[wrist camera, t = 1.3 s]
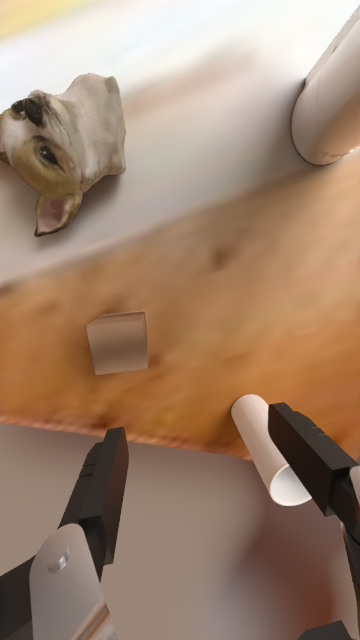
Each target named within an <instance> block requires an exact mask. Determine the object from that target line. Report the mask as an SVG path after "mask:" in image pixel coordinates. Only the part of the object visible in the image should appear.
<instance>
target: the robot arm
mask: <svg viewBox="0 0 360 640" xmlns="http://www.w3.org/2000/svg"><path fill="white" fill-rule="evenodd" d="M291 129H292V137H293V141H294V144H295V146H296V148H297V150H298V152H299V153H300V155H301V156H302V157H303V158H304V159H305V160H307V161H308V162H310V163H312V164H315V165H326V164H330V163H332V162H335V161H336V160H338V159H339V158H341V157H342V156H344V155H346V154H348V153H349V152H351V151H352V150H353V149H355V148H356V147H358V146H359V145H360V5H359V6H358V8H357V9H356V10H355V12H354V13H353V14H352V16H351V17H350V18H349V20H348V21H347V22H346V24H345V25H344V26H343V28H342V29H341V30H340V32H339V33H338V35H337V36H336V37H335V39H334V40H333V41H332V43H331V44H330V45H329V47H328V48H327V49H326V51H325V52H324V53H323V55H322V56H321V57H320V59H319V60H318V61H317V63H316V64H315V65H314V67H313V68H312V70H311V71H310V72H309V74H308V75H307V76H306V83H305V87H304V89H303V91H302V93H301V94H300V96H299V97H298V99H297V102H296V104H295V107H294V110H293V114H292V123H291ZM268 433H269V436H270V438H271V440H272V442H273V443H274V445H275V446H276V447H277V449H278V450H279V452H280V453H281V455H282V456H283V457H284V459H285V460H286V462H287V463H288V464H289V466H290V467H291V469H292V470H293V472H294V473H295V474H296V476H297V477H298V479H299V480H300V482H301V483H302V484H303V486H304V487H305V489H306V490H307V491H308V493H309V494H310V496H311V497H312V498H313V500H314V501H315V503H316V504H317V506H318V507H319V508H320V510H321V511H322V512H323V514H324V516H325V517H327V516H331V515H337V516H338V518H339V519H340V520H341V522H342V523H341V530H342V534H343V539H344V543H345V549H346V553H347V558H348V563H349V567H350V572H351V577H352V582H353V586H354V590H355V596H356V603H357V620H358V631H359V638H360V465H359V464H358V463H357V462H355V461H354V460H353V459H352V458H351V457H350V456H349V455H348V454H347V453H346V452H345V451H344V450H343V449H341V448H340V447H339V446H338V445H337V444H336V443H335V442H334V441H333V440H332V439H331V438H330V437H328V436H327V435H325V433H324V432H323V431H322V430H321V429H320V428H318V427H317V425H316V424H314V423H313V422H312V421H311V420H310V419H309V418H308V417H306V416H304V415H303V414H301V413H299V412H297V411H293V410H292V409H291V408H290V407H289V406H288V405H287V404H286V403H284V402H282V403H276V404H270V405H269V407H268ZM128 461H129V453H128V446H127V441H126V435H125V429H124V427H118V428H112V429H108V430H107V432H106V435H105V438H104V441H103V442H100V443H96V444H95V445H94V446H93V448H92V449H91V450H90V452H89V453H88V454H87V457H86V460H85V462H84V465H83V468H82V469H81V472H80V474H79V479H78V480H77V482H76V485H75V487H74V490H73V492H72V495H71V497H70V500H69V502H68V505H67V507H66V510H65V512H64V515H63V517H62V520H61V522H60V525H59V527H58V529H57V530H56V531H55V532H54V533H53V534H52V535H50V536H49V537H48V539H47V540H46V541H45V542H44V543H43V545H42V546H41V548H40V549H39V550H38V552H37V554H36V555H35V556H33V557H32V558H31V559H29V560H27V561H26V562H24V563H23V564H21V565H19V566H17V567H16V568H14V569H12V570H10V571H9V572H7V573H5V574H4V575H2V576H0V640H118V639H117V636H116V633H115V630H114V626H113V623H112V620H111V617H110V613H109V611H108V608H107V605H106V602H105V599H104V596H103V593H102V589H101V586H100V582H101V576H102V571H103V566H104V565H108V564H112V563H113V559H114V553H115V546H116V540H117V534H118V527H119V521H120V515H121V508H122V502H123V496H124V489H125V483H126V476H127V470H128ZM297 640H355V639H352V638H351V637H350V635H349V633H348V632H347V630H346V628H345V626H344V624H343V622H342V621H341V620H340V621H336V622H333V623H330V624H326V625H323V626H319V627H316V628H312V629H309V630H306V631H305V632H304V633H303V634H302V635H301V636H300V637H299V638H298V639H297Z"/></svg>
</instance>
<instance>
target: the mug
mask: <svg viewBox="0 0 360 640" xmlns="http://www.w3.org/2000/svg"><path fill="white" fill-rule="evenodd" d="M268 407H269V406H268V405H267V404H266V402H265V401H264V400H263V399H262V398H261V397H259V396H257V395H254V394H248V395H244V396H242V397H240V398H239V399H238V400H236V402H235V403H234V404H233V406H232V410H231V415H232V418H233V420H234V422H235V424H236V426H237V429H238V431H239V433H240V435H241V437H242V439H243V441H244V443H245V445H246V447H247V449H248V451H249V453H250V455H251V457H252V459H253V461H254V463H255V465H256V467H257V469H258V471H259V473H260V475H261V477H262V479H263V482H264V483H265V485H266V487H267V489H268V491H269V493H270V495H271V498H272V499H273V500H274V501H275V502H276V503H278V504H280V505H284V506H294V505H299V504H302V503H304V502H306V501H308V500H310V499H311V498H312V497H311V496H310V494H309V493H308V491H307V490H306V489H305V487H304V486H303V484H302V483H301V482H300V480H299V479H298V477H297V476H296V474H295V473H294V472H293V470H292V469H291V467H290V466H289V464H288V463H287V462H286V460H285V459H284V457H283V456H282V455H281V453H280V452H279V450H278V449H277V447H276V446H275V445H274V443H273V442H272V440H271V438H270V436H269V433H268Z"/></svg>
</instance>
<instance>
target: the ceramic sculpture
mask: <svg viewBox="0 0 360 640" xmlns="http://www.w3.org/2000/svg"><path fill="white" fill-rule="evenodd" d="M125 134H126V130H125V122H124V115H123V109H122V105H121V99H120V91H119V87H118V84H117V81H116V79H115V78H114V77H113V76H112V77H108V78H107V77H103V76H99V75H95V74H91V73H88V74H86V75H80V76H78V77H77V78H76V79H75V80H74V81H73V82H72V84H71V85H70V87H69V88H68V89H67V90H66V92H64V93H63V94H61V95H52V94H46V93H44V92H42V91H40V90H34V91H33V92H31V93H30V94H29V96H28V98H25V99H23V100H20V101H17V102H15V103H14V104H13V105H11V108H9V109H7V110H5V111H4V112H3V113H2V114H1V115H0V160H1V161H3V162H5V163H7V164H10V165H12V166H13V168H14V169H15V171H16V172H17V173H18V174H19V175H20V176H21V177H22V178H23V179H24V180H25V181H26V182H27V184H29V185H30V186H31V187H33V188H34V189H35V190H36V191H38V192H39V193H40V194H41V196H40V197H39V198H38V201H37V204H36V216H37V227H36V230H35V234H34V236H35V237H40V236H43V235H47V234H53V233H55V232H58V231H60V230H61V229H64V228H66V227H67V226H68V225H69V224H70V222H72V221H73V220H74V218H75V216H76V214H77V213H78V211H79V208H80V206H81V202H82V195H83V193H84V192H86V191H88V190H89V189H90V188H91V187H92V186H93V185H94V184H95V183H96V182H98V181H99V180H100V179H101V178H102V177H103V176H105V175H108V174H113V175H119V174H123V173H124V172H125V170H126V165H125V159H124V140H125Z"/></svg>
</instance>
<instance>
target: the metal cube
mask: <svg viewBox="0 0 360 640" xmlns="http://www.w3.org/2000/svg"><path fill="white" fill-rule="evenodd" d="M86 329H87V334H88V339H89V345H90V350H91V355H92V360H93V365H94V370H95V375H102V374H110V373H119V372H127V371H136V370H144V369H148V360H149V352H150V348H149V340H148V331H147V322H146V313H145V311H139V312H127V313H116V314H104V315H101V316H99V317H98V318H96V319H95V320H93V321H92V322H90V323H89V324H88V325H86Z"/></svg>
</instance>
